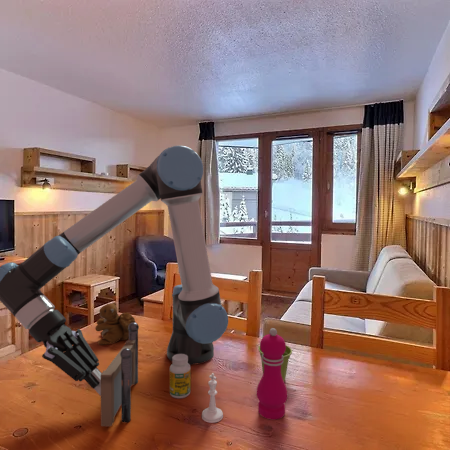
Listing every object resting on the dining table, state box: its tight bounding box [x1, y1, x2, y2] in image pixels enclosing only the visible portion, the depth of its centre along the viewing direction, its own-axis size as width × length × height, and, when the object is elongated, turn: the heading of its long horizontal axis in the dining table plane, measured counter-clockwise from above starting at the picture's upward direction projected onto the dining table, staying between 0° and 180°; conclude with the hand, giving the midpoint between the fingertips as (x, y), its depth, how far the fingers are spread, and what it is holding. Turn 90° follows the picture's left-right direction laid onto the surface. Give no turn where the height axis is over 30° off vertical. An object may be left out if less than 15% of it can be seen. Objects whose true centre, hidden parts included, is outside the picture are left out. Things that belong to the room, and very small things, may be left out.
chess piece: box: [201, 372, 224, 424], centre depth 78 cm, size 5×5×10 cm
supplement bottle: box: [169, 354, 192, 399], centre depth 87 cm, size 5×5×10 cm
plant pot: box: [257, 345, 293, 382], centre depth 95 cm, size 9×9×9 cm
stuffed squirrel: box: [94, 302, 136, 346], centre depth 122 cm, size 10×14×13 cm
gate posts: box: [120, 321, 140, 424], centre depth 84 cm, size 4×19×17 cm, turn 4°
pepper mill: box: [256, 327, 288, 421], centre depth 79 cm, size 7×7×20 cm
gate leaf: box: [100, 339, 136, 427], centre depth 81 cm, size 19×2×11 cm, turn 179°
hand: (109, 393), depth 79 cm, fingers closed
